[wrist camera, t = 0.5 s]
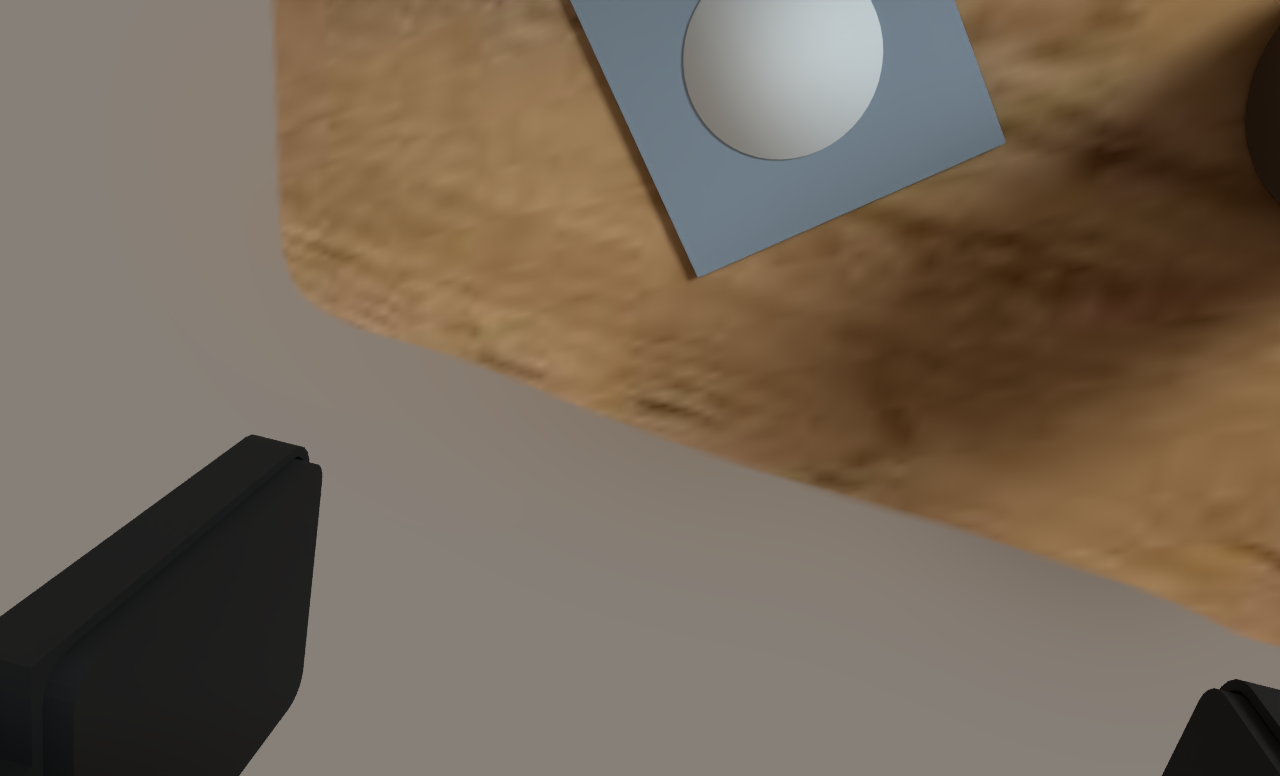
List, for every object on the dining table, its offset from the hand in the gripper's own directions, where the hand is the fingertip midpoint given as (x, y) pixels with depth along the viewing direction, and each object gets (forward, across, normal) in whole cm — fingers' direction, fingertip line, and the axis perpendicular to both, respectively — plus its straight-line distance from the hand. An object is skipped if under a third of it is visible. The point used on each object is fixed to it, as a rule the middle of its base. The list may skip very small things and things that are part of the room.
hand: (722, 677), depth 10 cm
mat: (+29, +1, -6) cm, 29 cm away
